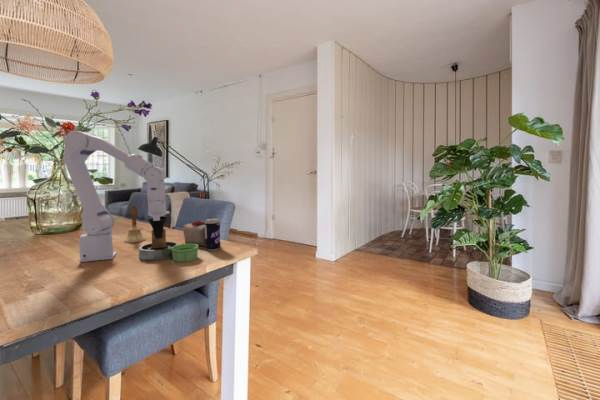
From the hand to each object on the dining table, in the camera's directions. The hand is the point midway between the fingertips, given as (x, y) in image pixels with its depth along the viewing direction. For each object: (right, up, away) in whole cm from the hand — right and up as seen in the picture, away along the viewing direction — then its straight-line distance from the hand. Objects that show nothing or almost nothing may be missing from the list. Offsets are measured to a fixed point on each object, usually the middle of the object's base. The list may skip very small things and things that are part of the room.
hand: (158, 237), depth 107 cm
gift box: (+9, -5, +17) cm, 20 cm away
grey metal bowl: (0, -7, +1) cm, 7 cm away
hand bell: (-22, -5, +23) cm, 32 cm away
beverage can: (+17, -6, +8) cm, 20 cm away
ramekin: (+11, -7, -3) cm, 14 cm away
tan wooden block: (0, -4, 0) cm, 4 cm away
